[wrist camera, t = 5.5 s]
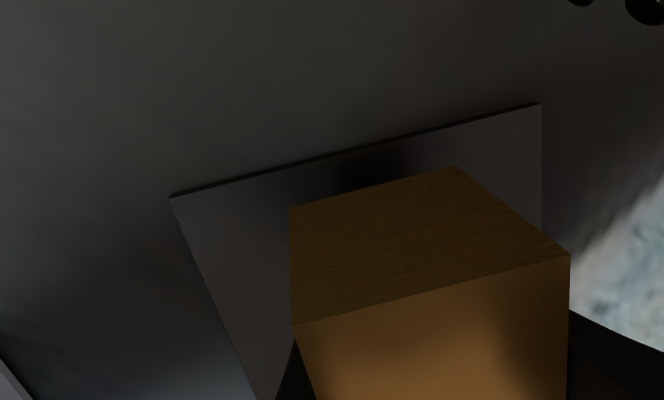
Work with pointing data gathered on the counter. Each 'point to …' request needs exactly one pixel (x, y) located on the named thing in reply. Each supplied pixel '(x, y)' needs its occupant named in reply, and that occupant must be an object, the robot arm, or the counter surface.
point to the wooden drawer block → (427, 294)
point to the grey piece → (323, 182)
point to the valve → (638, 10)
